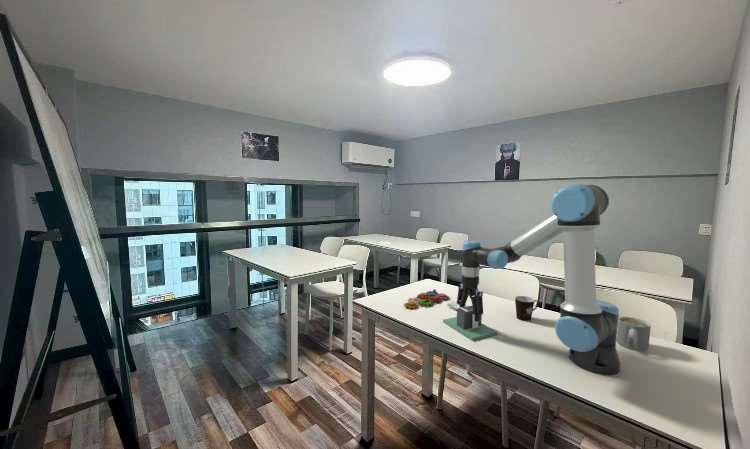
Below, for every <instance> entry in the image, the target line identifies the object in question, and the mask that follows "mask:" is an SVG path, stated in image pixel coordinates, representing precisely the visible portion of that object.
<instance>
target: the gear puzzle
mask: <svg viewBox="0 0 750 449" xmlns="http://www.w3.org/2000/svg"><path fill="white" fill-rule="evenodd" d="M447 300H451V297H450V296H448V295H447V293H439V292H438V291H437V289H435V288H434V289H433V290H429V291H426V292H421V293H418V294H417V296H416V297H413V298H412V297H410V298H408V299H407V302H404V304H403V307H405V308H408V309H409V310H410V309H413V310H414V309H419V307H420V308H426V309H428V308H430V307H431V306H432V307H433V306H435V305H438V304H439V303H440V304H441V303H443V302H446V301H447Z"/></svg>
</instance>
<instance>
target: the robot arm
mask: <svg viewBox="0 0 750 449" xmlns="http://www.w3.org/2000/svg"><path fill="white" fill-rule="evenodd" d="M550 201H551V202H550V208H551V211H552V213H553V214H551V215H550V216H548V217H547V218H545V219H543V220H542V221H540V222H539V223H537V224H536V225H534V226H532V228H530V229H528V230H526V231H525V232H523V233H522V234H521V235H519V236H518V237H516V238H515V239H513V240H511V241H510V242H508V243H507V244H505V245H503V246H499V247H494V248H488V247H482V246H481V242H479V241H477V240H465V241H464V242H463V243H462V250H461V251H462V252H461V253H462V255H461V256H462V257H461V258H462V259H461V260H462V263H461V264H462V265H461V274H462V275H461V283H458V285H457V287H458V289H457V290H458V291H457V297H456V302H457V304H459V306H460V308H462V307H464V306H466V303H467V301H468V298H469V299H470V301H471V306H473V310H474V313H473V318H472V328H477V327H478V321H479V314H482V315H484V304H483V303H484V302H483V296H484V292H483V291H482V290H481V291H480V290H479V288H478V286H479V284H480V276H479V275H480V265H481V266H485V267H489V268H492V269H497V270H498V269H499V270H503V269H504V268H505V267H506V266H507V264H510V263H514V262H516V261H519V260H520V259H522V258H521V257H523V256H525V255H527V254H528V253H529V252H532V251H533V250H534V249H536V248H538V247H540V246H542V245H543V244H545V243H547V242H549V241H551V240H552V239H554V238H555V237H557V236H559V235H561V234H562V242H563V244H562V245H563V274H564V280H563V281H564V301H563V302H562V303H561V304H560V305H559V309H560V312H559V315H560V318H558V319H557V321H556V322H555V325H554V331H555V335H556V337H557V338H558V340H559V341H560V342H561V343H562V344H563V345H564V346H566V347H567V348H569V352H568V358H569V360H570V361H571V362H572V363H573V364H574V365H576V366H577V367H580V368H581V369H584V370H586V371H589V372H591V373H594V374H595V373H596V374H598V375H599V374H600V375H608V376H609V375H617V374H619V373H620V371H621V361H620V358H619V354H618V350H617V348H616V346H617V342H616V340H617V329H618V318H619V317H620V315H619V308H618V307H617V306H616V305H615V304H613V303H610V302H606V301H605V300H598V299H597V282H596V278H597V277H596V276H597V275H596V250H595V249H596V248H595V247H596V246H595V244H596V241H595V240H596V238H595V231H596V230H597V229H598V228H599V227H600V226H601V216H602V215H603V214H604V213H605V212H606V211H607V209H608V207H609V205H610V197H609V195H608V193H607V191H606V190H605V189H604V188H602V187H600V186H598V185H594V184H582V183H579V184H578V183H575V184H570V185H565V186H564V187H561V188H560V189H558V191H556V192H555V193H554V194H553V196H552V199H551V200H550Z"/></svg>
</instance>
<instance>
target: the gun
mask: <svg viewBox="0 0 750 449" xmlns="http://www.w3.org/2000/svg"><path fill="white" fill-rule="evenodd" d="M446 305H447V307H449V308H451V309H454V310H456V311H457V308H460V306H459V304H457V301H454V300H452V302H448V303H446ZM465 305H466V304H465ZM467 306H468V304H467V305H466V306H464V307H467Z"/></svg>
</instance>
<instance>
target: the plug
mask: <svg viewBox="0 0 750 449" xmlns="http://www.w3.org/2000/svg"><path fill="white" fill-rule="evenodd" d="M473 313H474V310H473V306H472V305H467V307H462V308H457V310H456V317H457V326H459V327H460V328H462V329H464V330H465V329H469V328H472V318H473ZM482 315H483V314H479V321H478V326H481V323H482Z"/></svg>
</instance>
